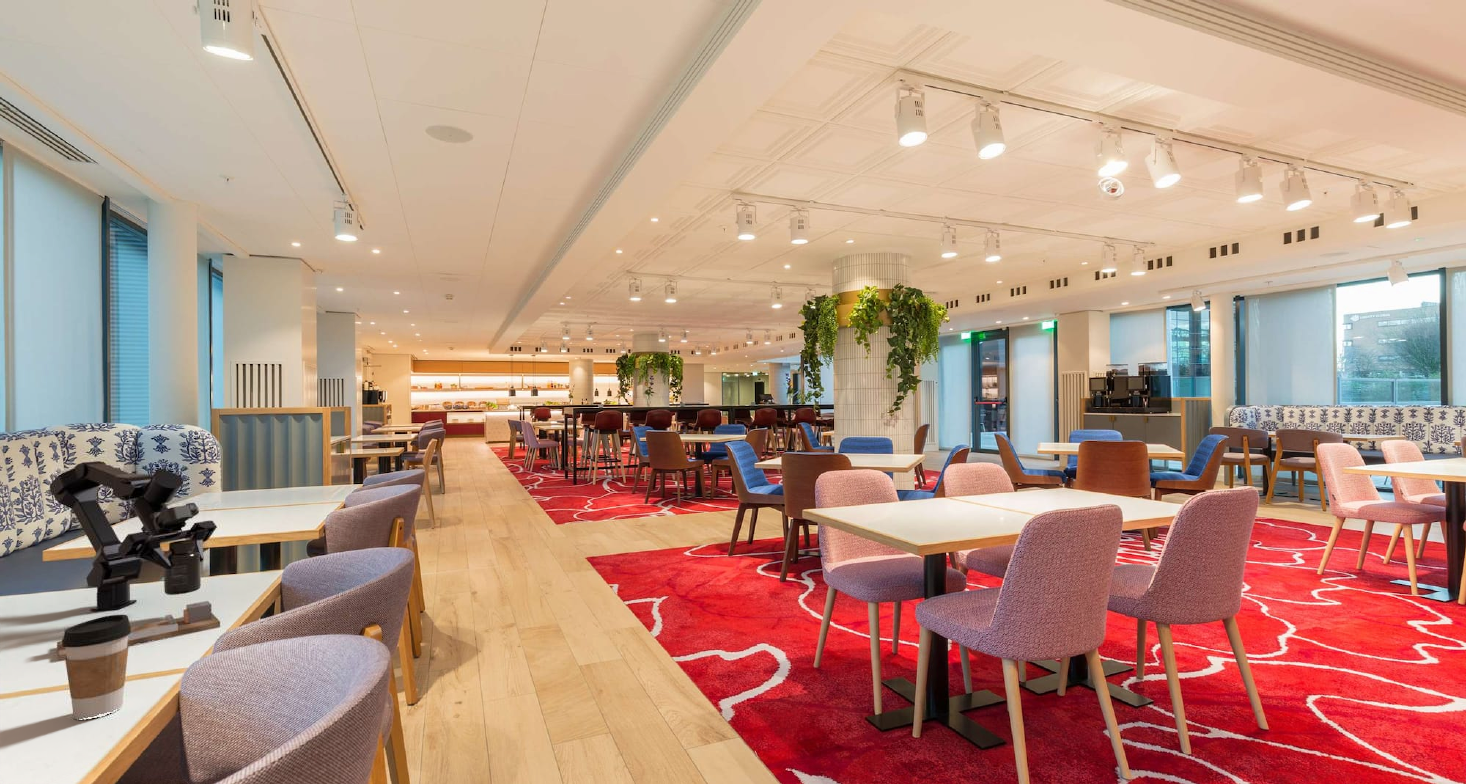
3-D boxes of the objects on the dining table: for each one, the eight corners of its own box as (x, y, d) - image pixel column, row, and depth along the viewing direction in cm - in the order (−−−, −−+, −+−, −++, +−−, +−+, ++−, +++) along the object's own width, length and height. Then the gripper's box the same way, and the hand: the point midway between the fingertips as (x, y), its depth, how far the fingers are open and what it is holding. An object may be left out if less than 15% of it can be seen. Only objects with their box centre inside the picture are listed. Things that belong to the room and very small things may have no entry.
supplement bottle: (208, 587, 165) (207, 538, 165) (182, 595, 158) (182, 545, 158) (182, 587, 166) (182, 538, 166) (156, 595, 159) (155, 544, 159)
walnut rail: (210, 616, 161) (210, 597, 161) (220, 626, 154) (219, 606, 154) (57, 647, 142) (56, 625, 142) (59, 661, 135) (59, 637, 135)
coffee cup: (144, 704, 114) (143, 616, 114) (82, 728, 106) (81, 633, 106) (112, 698, 117) (111, 612, 117) (50, 720, 109) (48, 628, 109)
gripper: (125, 499, 155) (157, 550, 151) (211, 488, 172) (242, 534, 169) (104, 532, 157) (135, 583, 153) (191, 517, 175) (220, 563, 171)
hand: (186, 564), depth 162 cm, fingers closed on supplement bottle, 7 cm apart
